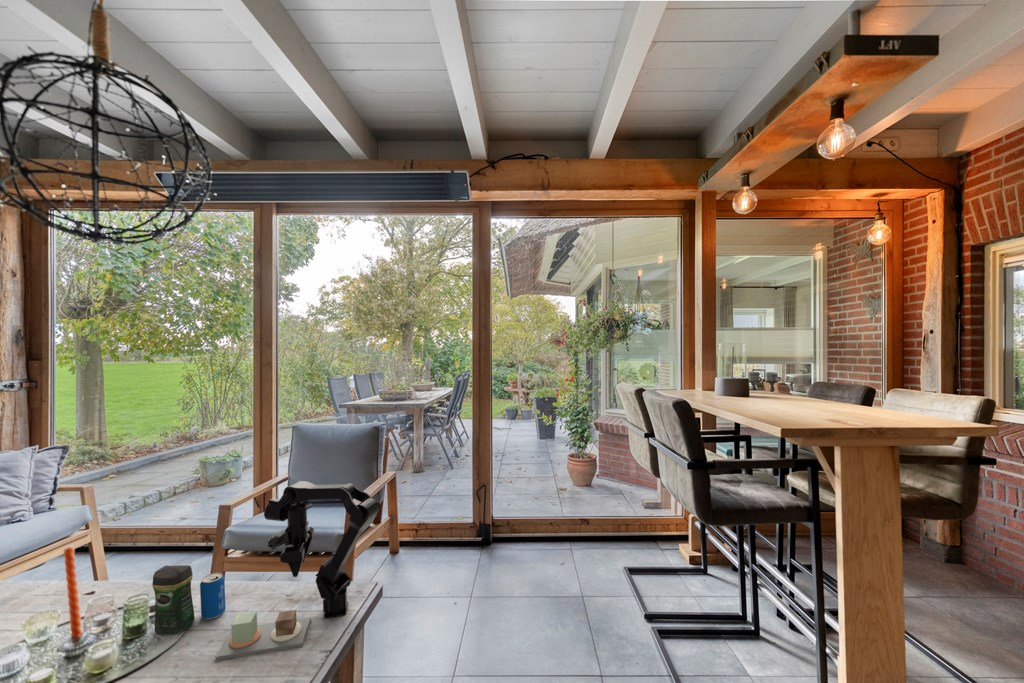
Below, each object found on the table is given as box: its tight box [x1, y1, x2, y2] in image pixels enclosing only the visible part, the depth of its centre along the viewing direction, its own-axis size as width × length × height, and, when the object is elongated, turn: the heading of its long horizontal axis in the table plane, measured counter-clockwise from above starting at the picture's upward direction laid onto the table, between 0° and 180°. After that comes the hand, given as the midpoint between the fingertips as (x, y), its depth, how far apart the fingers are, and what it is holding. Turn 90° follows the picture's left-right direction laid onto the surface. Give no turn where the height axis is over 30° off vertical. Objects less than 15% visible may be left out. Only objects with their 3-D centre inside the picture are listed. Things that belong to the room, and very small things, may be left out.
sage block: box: [230, 611, 258, 644], centre depth 131 cm, size 5×5×6 cm
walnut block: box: [274, 609, 297, 637], centre depth 134 cm, size 4×4×4 cm
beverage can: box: [199, 572, 226, 620], centre depth 145 cm, size 6×6×12 cm
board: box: [214, 616, 312, 661], centre depth 133 cm, size 22×12×2 cm, turn 103°
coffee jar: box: [151, 564, 196, 635], centre depth 139 cm, size 10×8×19 cm
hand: (298, 569), depth 148 cm, fingers open, 9 cm apart
